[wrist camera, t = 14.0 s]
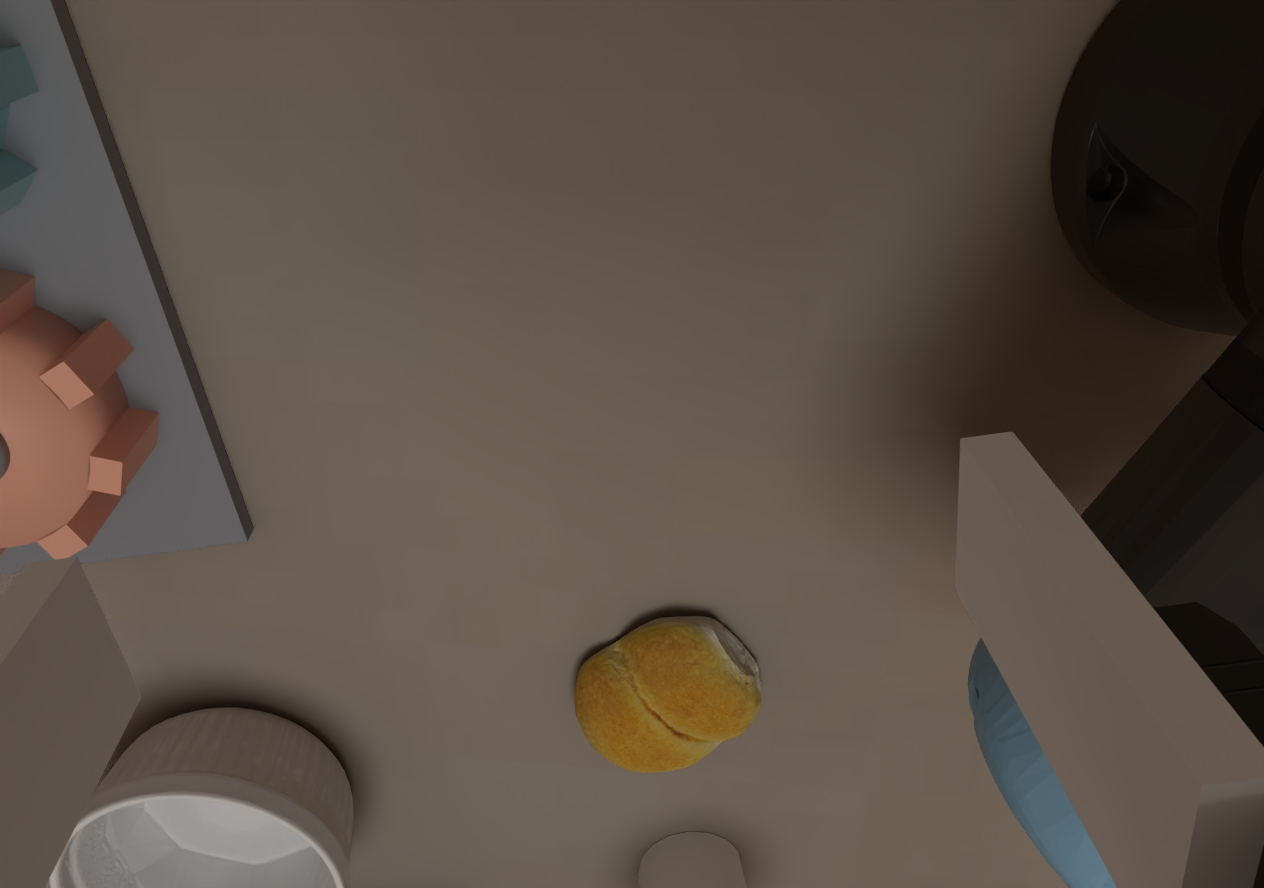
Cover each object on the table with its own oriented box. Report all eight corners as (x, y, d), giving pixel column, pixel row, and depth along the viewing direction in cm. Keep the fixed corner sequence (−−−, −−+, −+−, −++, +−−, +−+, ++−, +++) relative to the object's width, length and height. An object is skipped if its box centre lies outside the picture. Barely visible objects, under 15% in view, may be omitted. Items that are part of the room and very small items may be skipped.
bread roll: (543, 677, 52) (541, 736, 48) (687, 581, 49) (697, 635, 46) (645, 768, 55) (651, 829, 52) (785, 682, 53) (801, 740, 49)
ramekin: (65, 812, 54) (2, 931, 48) (168, 642, 49) (112, 751, 43) (301, 898, 58) (271, 1018, 52) (417, 749, 53) (399, 862, 47)
